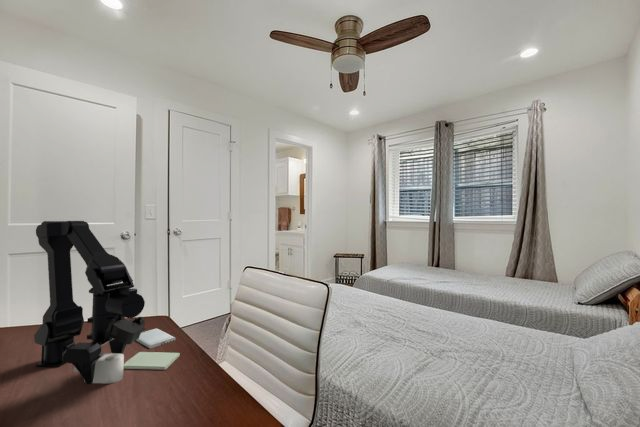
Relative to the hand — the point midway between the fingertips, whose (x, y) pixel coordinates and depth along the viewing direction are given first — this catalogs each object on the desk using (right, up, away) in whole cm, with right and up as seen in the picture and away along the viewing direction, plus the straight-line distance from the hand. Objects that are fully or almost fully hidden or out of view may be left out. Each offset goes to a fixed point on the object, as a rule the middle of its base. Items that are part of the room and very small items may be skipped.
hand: (104, 373), depth 74 cm
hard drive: (-1, -3, +24) cm, 24 cm away
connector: (-1, -1, 0) cm, 2 cm away
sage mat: (+7, -2, +9) cm, 11 cm away
